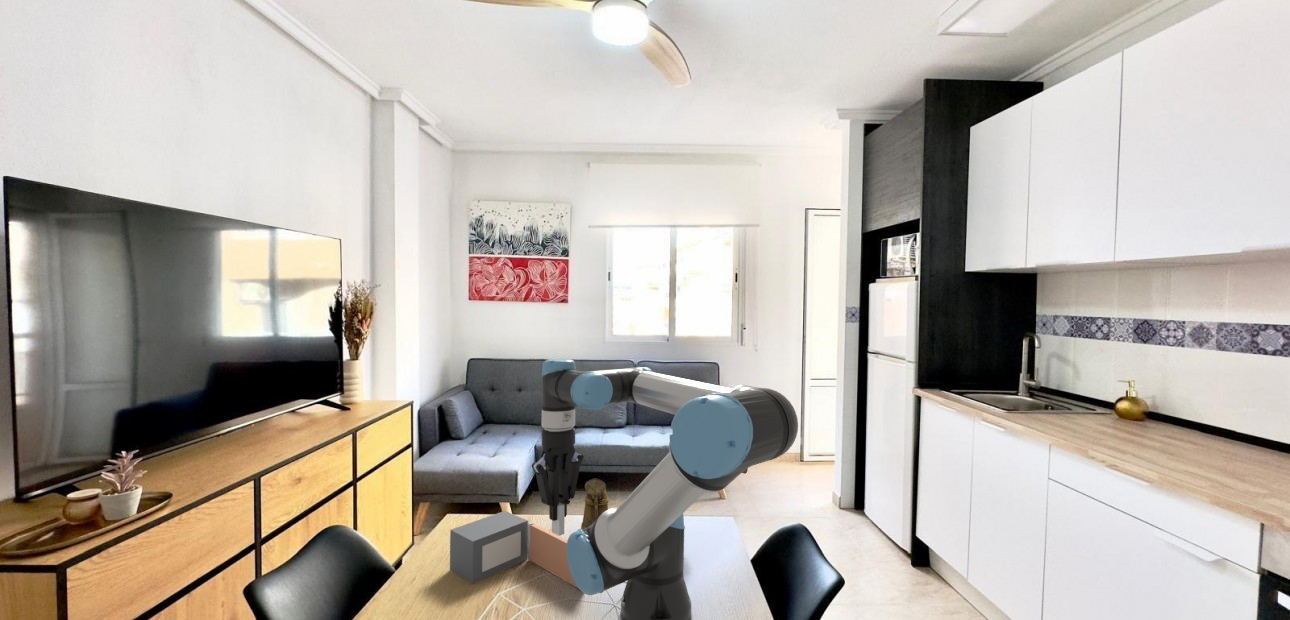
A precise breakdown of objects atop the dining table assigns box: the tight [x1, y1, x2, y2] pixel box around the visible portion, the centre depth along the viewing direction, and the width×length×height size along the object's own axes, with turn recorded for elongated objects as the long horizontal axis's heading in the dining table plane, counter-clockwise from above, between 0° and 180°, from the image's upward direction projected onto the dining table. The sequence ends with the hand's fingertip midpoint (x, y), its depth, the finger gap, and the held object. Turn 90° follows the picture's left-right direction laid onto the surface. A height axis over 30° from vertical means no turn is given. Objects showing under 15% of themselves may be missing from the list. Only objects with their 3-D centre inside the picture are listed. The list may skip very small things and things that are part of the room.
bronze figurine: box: [580, 477, 609, 529], centre depth 149 cm, size 9×14×18 cm, turn 2°
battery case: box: [449, 510, 529, 585], centre depth 129 cm, size 10×16×10 cm, turn 141°
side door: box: [527, 522, 579, 589], centre depth 124 cm, size 2×22×9 cm, turn 47°
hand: (558, 532), depth 114 cm, fingers closed
